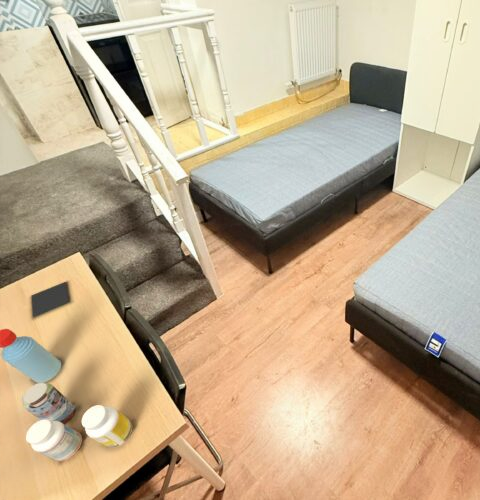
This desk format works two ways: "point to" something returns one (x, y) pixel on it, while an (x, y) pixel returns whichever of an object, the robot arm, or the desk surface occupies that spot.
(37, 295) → the coaster
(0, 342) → the cap
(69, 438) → the pill bottle
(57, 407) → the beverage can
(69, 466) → the desk surface
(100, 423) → the pill bottle
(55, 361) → the water bottle
